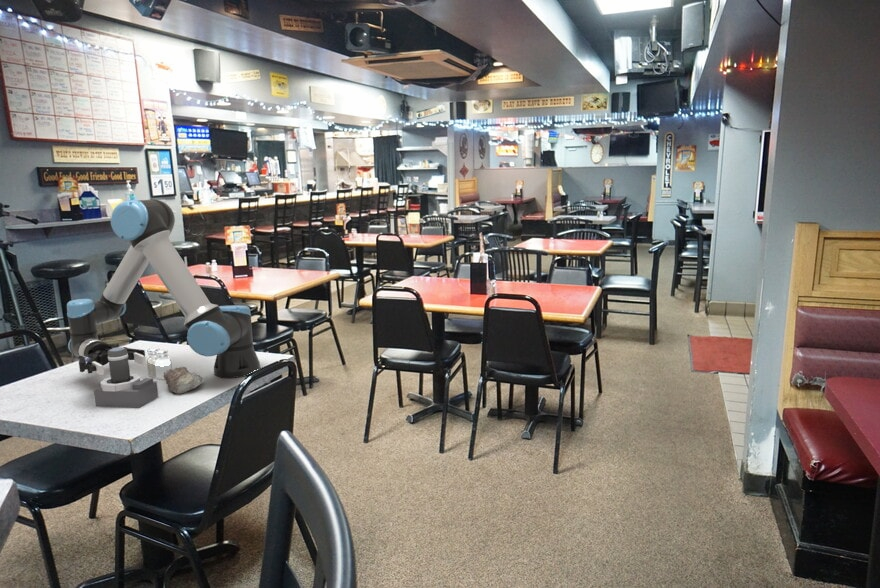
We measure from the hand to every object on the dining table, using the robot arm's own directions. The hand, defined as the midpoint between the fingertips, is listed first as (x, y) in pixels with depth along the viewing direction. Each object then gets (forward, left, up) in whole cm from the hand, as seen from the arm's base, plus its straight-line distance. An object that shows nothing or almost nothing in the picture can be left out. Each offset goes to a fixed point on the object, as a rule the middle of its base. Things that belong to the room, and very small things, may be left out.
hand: (123, 365), depth 170 cm
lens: (+3, -2, -7) cm, 8 cm away
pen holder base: (+2, -2, -12) cm, 12 cm away
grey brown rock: (-9, -15, -12) cm, 21 cm away
